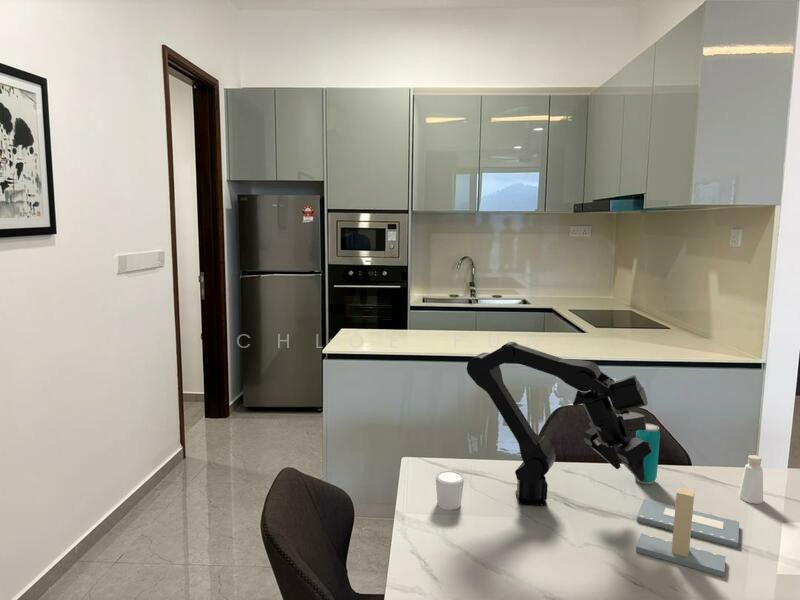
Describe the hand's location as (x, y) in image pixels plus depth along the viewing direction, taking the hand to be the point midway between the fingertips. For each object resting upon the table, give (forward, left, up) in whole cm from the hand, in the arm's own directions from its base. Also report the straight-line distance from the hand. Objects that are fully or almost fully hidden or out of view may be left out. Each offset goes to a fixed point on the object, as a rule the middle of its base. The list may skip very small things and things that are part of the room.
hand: (630, 474), depth 132 cm
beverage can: (+11, +19, -11) cm, 24 cm away
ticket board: (+13, -3, -10) cm, 16 cm away
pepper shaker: (+34, +11, -11) cm, 37 cm away
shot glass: (-41, +2, -11) cm, 43 cm away
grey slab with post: (+5, -16, -10) cm, 20 cm away
